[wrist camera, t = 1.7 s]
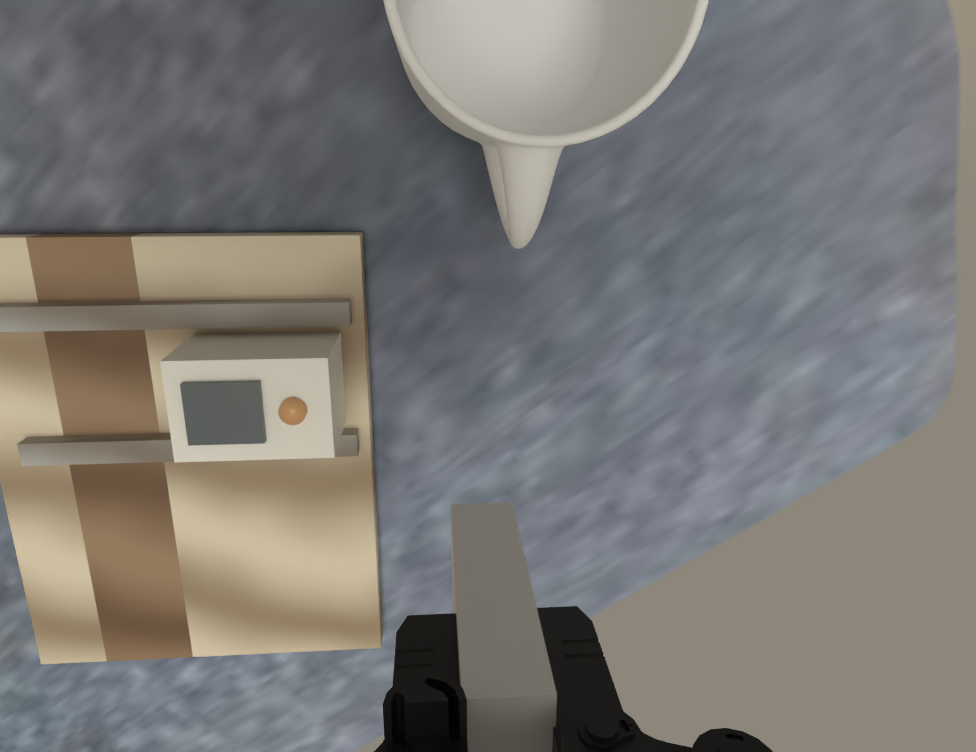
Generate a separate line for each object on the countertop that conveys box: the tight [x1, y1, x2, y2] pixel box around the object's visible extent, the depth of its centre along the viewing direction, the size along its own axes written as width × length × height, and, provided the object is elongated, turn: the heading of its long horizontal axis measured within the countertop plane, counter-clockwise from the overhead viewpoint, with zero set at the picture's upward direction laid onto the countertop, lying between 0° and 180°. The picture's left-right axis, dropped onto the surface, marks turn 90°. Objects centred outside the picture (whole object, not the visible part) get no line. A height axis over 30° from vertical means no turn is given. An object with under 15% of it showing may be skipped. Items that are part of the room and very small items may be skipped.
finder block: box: [160, 332, 346, 462], centre depth 28 cm, size 4×6×4 cm, turn 90°
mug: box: [383, 0, 709, 249], centre depth 24 cm, size 9×12×11 cm
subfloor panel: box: [0, 232, 383, 664], centre depth 32 cm, size 20×16×2 cm
